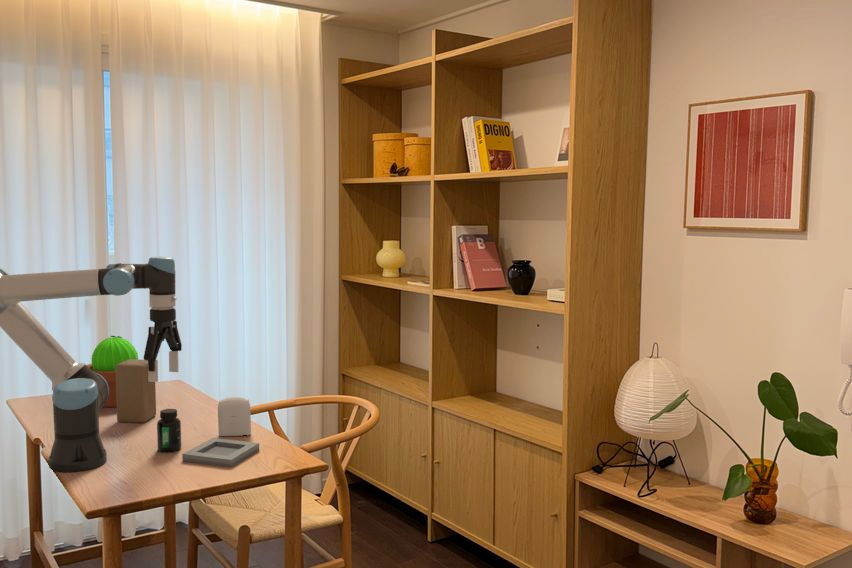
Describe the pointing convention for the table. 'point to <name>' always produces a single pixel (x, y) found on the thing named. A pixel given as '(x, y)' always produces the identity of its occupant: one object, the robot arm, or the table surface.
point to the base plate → (220, 452)
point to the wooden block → (134, 392)
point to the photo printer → (234, 417)
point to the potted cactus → (111, 362)
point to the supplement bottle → (169, 431)
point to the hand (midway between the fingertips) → (163, 376)
